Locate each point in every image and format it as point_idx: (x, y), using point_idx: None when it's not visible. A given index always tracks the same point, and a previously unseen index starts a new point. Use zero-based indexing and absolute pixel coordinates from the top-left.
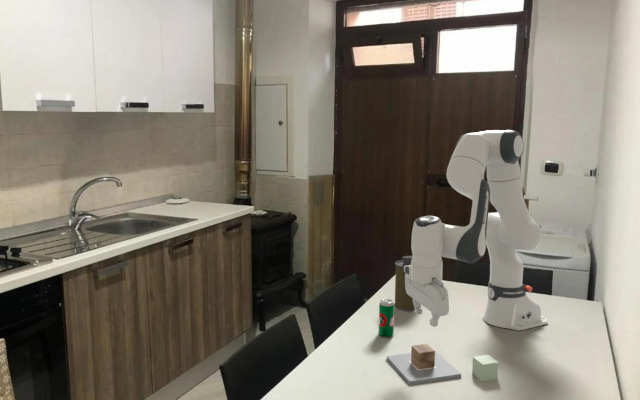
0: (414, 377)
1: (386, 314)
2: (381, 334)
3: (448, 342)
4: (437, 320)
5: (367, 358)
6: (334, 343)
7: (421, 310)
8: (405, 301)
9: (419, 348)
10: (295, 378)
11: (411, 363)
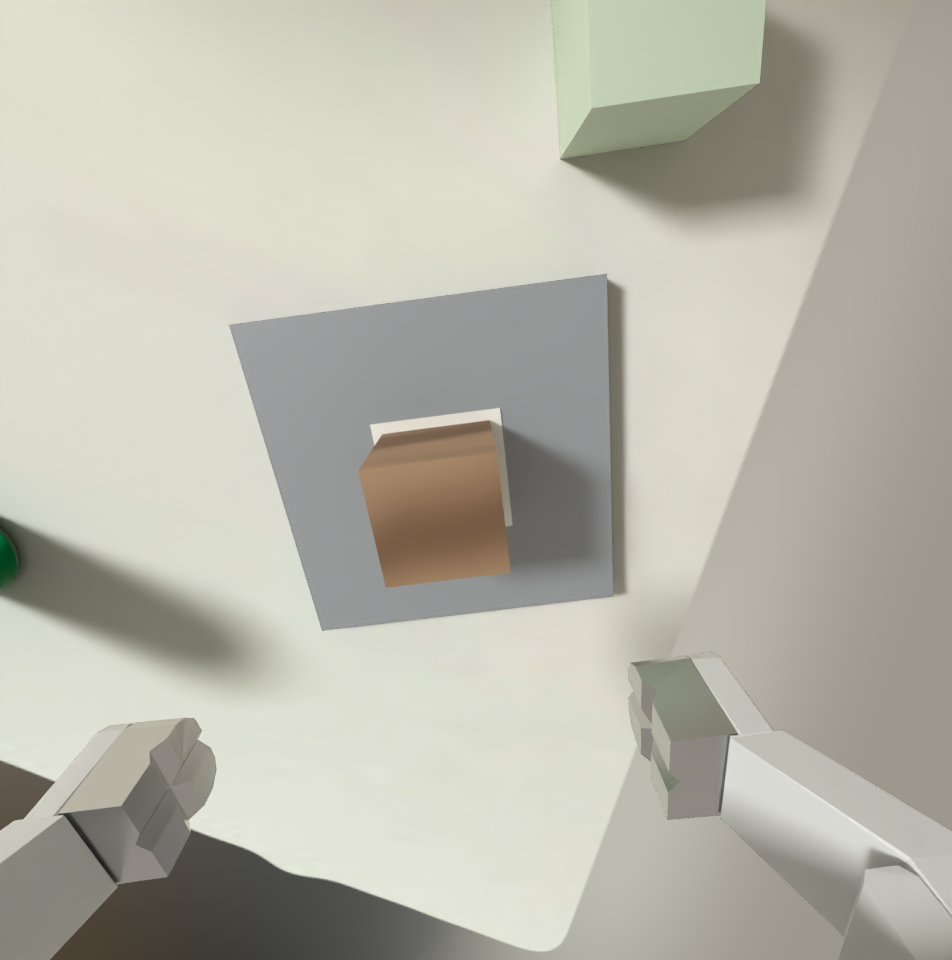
0: (581, 563)
1: None
2: (2, 589)
3: (21, 113)
4: (771, 731)
5: (314, 694)
6: None
7: (152, 773)
8: None
9: (436, 548)
10: (467, 913)
11: None
